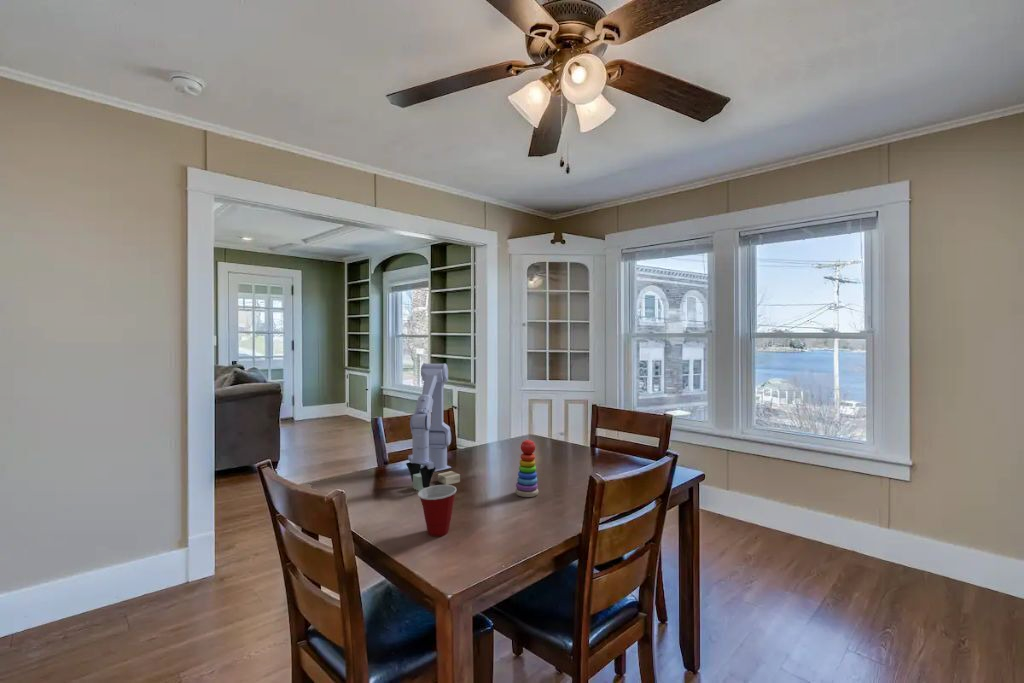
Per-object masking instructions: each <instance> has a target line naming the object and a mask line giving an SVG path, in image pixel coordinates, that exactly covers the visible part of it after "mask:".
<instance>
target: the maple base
mask: <svg viewBox="0 0 1024 683" xmlns="http://www.w3.org/2000/svg"><path fill="white" fill-rule="evenodd" d="M437 482H439V483H441V484H442V485H452V484H457V483H460V482H461V474H460V473H457V472H455V471H453V470H449V471H445V472H441V473H437Z"/></svg>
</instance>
